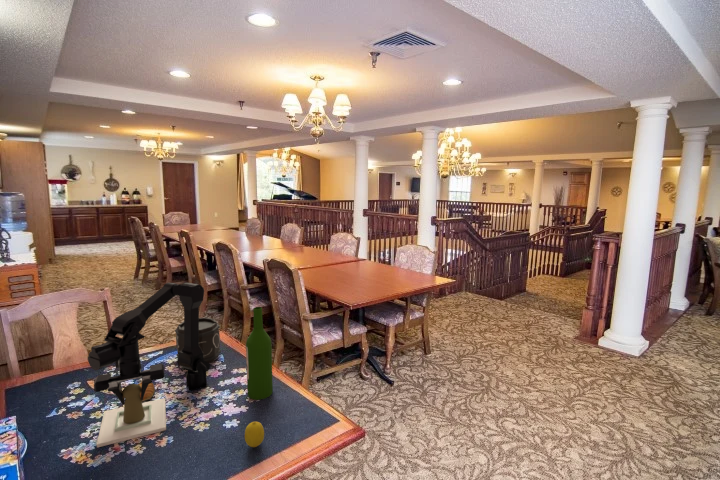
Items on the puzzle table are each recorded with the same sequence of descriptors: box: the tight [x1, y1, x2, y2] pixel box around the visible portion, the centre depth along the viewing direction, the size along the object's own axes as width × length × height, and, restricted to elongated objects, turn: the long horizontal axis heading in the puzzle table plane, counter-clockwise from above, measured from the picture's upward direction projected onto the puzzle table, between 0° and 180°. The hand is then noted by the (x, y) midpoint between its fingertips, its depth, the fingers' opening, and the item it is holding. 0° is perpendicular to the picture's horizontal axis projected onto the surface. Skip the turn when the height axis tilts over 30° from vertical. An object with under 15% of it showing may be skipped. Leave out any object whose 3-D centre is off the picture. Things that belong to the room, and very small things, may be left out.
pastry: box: [138, 381, 156, 402], centre depth 139 cm, size 9×7×4 cm
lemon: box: [244, 421, 265, 448], centre depth 112 cm, size 6×6×8 cm
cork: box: [122, 383, 145, 424], centre depth 123 cm, size 6×6×11 cm
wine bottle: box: [245, 306, 274, 401], centre depth 138 cm, size 9×9×32 cm
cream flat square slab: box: [96, 397, 167, 448], centre depth 123 cm, size 18×18×2 cm
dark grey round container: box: [174, 317, 222, 364], centre depth 167 cm, size 18×18×16 cm
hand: (132, 401), depth 123 cm, fingers closed on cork, 5 cm apart
